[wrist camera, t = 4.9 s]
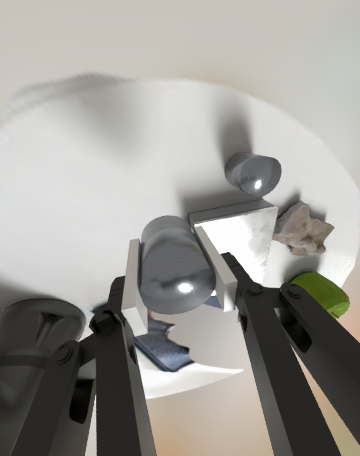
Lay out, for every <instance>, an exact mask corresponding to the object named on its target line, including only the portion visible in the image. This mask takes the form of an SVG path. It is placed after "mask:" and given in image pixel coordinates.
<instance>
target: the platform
mask: <svg viewBox="0 0 360 456" xmlns="http://www.w3.org/2000/svg"><path fill="white" fill-rule="evenodd" d="M278 210H279V208H278V207H276V206H273V207H268V208H263V209H258V210H253V211H248V212H243V213H238V214H233V215H228V216H223V217H218V218H213V219H208V220H203V221H198V222H194V227H195V226H199V225H202V226H203V228H204V229H205V231H206V232H207V234H208V235H209V237H210V239H211V240H212V242H213V243H214V245H215V246H216V248H217V250H218V251H219V253H223V252H227V251H229V252H230V253H232V254H233V255H234V256H235V257H236V258H237V260H238V261H239V262H240V264H241V265H242V266H243V268H244V269H245V270H246V272H247V273H248V274H249V276H250V277H251V278H252V280H253V281H254V282H257V283H262V280H263V276H264V271H265V267H266V263H267V258H268V254H269V249H270V245H271V240H272V236H273V232H274V227H275V223H276V218H277V214H278ZM214 294H215V291H214V292H213V294H212V295H214Z"/></svg>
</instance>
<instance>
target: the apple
mask: <svg viewBox="0 0 360 456" xmlns="http://www.w3.org/2000/svg"><path fill="white" fill-rule="evenodd" d="M291 283H295V284H297V285H299V286H301V287H302V288H304V289H305V290H306V291H307V292H308V293H309V294H310V295H311V296H312V297H313V298H314V299H315V300H316V301H317V302H318V303H319V304H320V305H321V306H322V307H323V308H324V309H325V310H326V311H327V312H328V313H329V314H330V315H331V316H332V317H334V318H335V319H336V318H339V317H340V316H341V315H343V314H344V313H345V312H346V311H347V310H348V308H349V305H350V303H349V297H348V296H347V294H346V293H345V292H344V291H343V290H342V289H341V288H339V287H338V286H337V285H336V284H334V283H333V282H332V281H330V280H329V279H327V278H325V277H324V276H322V275H320V274H319V273H317V272H309V273H303V274H300V275H298V276H297V277H295V278H294V279H293V280H292V282H291Z"/></svg>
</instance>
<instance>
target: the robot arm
mask: <svg viewBox="0 0 360 456" xmlns="http://www.w3.org/2000/svg"><path fill="white" fill-rule="evenodd" d="M194 234H195V236H196V238H197V240H198V242H199V244H200V246H201V248H202V250H203V252H204V254H205V256H206V258H207V260H208V262H209V264H210V266H211V268H212V270H213V272H214V274H215V276H216V287H215V290H214V291H215V294H216V296H217V298H218V300H219V302H220V305H221V307H222V309H223V311H224V312H226V311H230V310H234V309H235V304H236V306H237V308H238V310H239V313H238V322H240V323H241V327H242V330H243V335H244V338H245V342H246V346H247V350H248V354H249V358H250V362H251V366H252V370H253V373H254V378H255V382H256V386H257V390H258V393H259V397H260V402H261V405H262V409H263V413H264V417H265V421H266V425H267V429H268V433H269V437H270V441H271V445H272V449H273V452H274V456H341V454H340V451H339V449H338V447H337V445H336V443H335V441H334V438H333V436H332V434H331V432H330V430H329V428H328V426H327V423H326V421H325V419H324V417H323V415H322V412H321V410H320V408H319V406H318V403H317V401H316V399H315V397H314V395H313V393H312V391H311V388H310V386H309V384H308V382H307V380H306V378H305V375H304V373H303V371H302V369H301V366H300V364H299V362H298V360H297V358H296V356H295V353H294V351H293V349H294V350H295V352H296V353H297V354H298V356H299V357H300V359H301V360H302V362H303V363H304V365H305V366H306V368H307V369H308V371H309V372H310V374H311V375H312V377H313V378H314V379H315V381H316V382H317V384H318V385H319V387H320V388H321V390H322V391H323V392H324V394H325V395H326V397H327V398H328V400H329V401H330V403H331V404H332V406H333V407H334V409H335V410H336V411H337V413H338V414H339V416H340V417H341V419H342V420H343V421H344V423H345V425H346V426H347V427H348V429H349V430H350V432H351V433H352V435H353V436H354V438H355V439H356V441H357V442H358V443H359V445H360V343H359V342H358V341H357V340H356V339H355V338H354V337H353V336H352V335H351V334H350V333H349V332H348V331H347V330H346V329H345V328H344V327H343V326H342V325H341V324H340V323H339V322H338V321H337V320H336V319H335V318H334V317H332V316H331V315H330V314H329V313H328V312H327V311H326V310H325V309H324V308H323V307H322V306H321V305H320V304H319V303H318V302H317V301H316V300H315V299H314V298H313V297H312V296H311V295H310V294H309V293H308V292H307V291H306V290H305V289H304V288H302V287H301V286H299V285H297V284H295V283H284V284H282V285H281V287H280V288H268V287H263V286H262V285H260V284H259V283H257V282H254V281H253V280H252V278H251V277H250V276H249V274H248V273H247V272H246V270H245V269H244V268H243V266H242V265H241V264H240V262H239V261H238V260H237V258H236V257H235V256H234V255H233V254H232V253H230V252H229V251H227V252H223V253H219V251H218V250H217V248H216V246H215V245H214V243H213V242H212V240H211V239H210V237H209V235H208V234H207V232H206V231H205V229H204V228H203V226H202V225H199V226H195V227H194ZM140 266H141V244H140V240H139V238H138V239H133V240H130V245H129V253H128V261H127V268H126V276H122V277H117V278H115V280H114V281H113V283H112V284H111V289H110V293H109V298H108V303H107V307H106V308H104V309H102V310H100V311H99V312H97V313H96V314H95V315H94V316H93V318H92V319H91V321H90V324H89V328H90V329H91V330H92V331H93V332H94V333H93V334H91V335H90V336H88V337H86V338H85V339H83V340H81V341H80V342H78V340H79V339H80V338H81V336H82V334H83V331H84V328H85V325H86V318H85V315H84V314H83V313H82V311H81V310H79V309H78V308H77V307H75V306H73V305H71V304H68V303H66V302H62V301H58V300H51V299H32V300H26V301H22V302H18V303H16V304H14V305H12V306H10V307H8V308H7V309H6V310H5V311H4V312H3V313H2V315H1V316H0V456H85V451H86V446H87V440H88V434H89V429H90V423H91V417H92V412H93V406H94V401H95V395H96V426H97V427H96V430H97V431H96V432H97V456H157V455H156V450H155V445H154V440H153V435H152V430H151V425H150V420H149V415H148V410H147V405H146V400H145V395H144V390H143V385H142V380H141V375H140V370H139V365H138V360H137V355H136V350H135V345H134V343H133V333H134V335H135V336H139V335H142V334H146V333H148V331H147V307H145V306H144V304H143V301H142V299H141V296H140ZM290 344H291V345H290ZM291 346H292V347H293V349H292V347H291Z"/></svg>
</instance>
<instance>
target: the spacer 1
mask: <svg viewBox="0 0 360 456" xmlns="http://www.w3.org/2000/svg"><path fill="white" fill-rule="evenodd" d="M215 287H216V276H215V274H214V272H213V270H212V268H211V266H210V264H209V262H208V260H207V258H206V256H205V254H204V252H203V250H202V248H201V246H200V244H199V242H198V240H197V238H196V236H195V234H194V232H193V230H192V228H191V226H190V225H189V224H188V223H187V222H186V221H185V220H184V219H182V218H180V217H177V216H162V217H159V218H156V219H154V220H153V221H151V222H150V223H149V224H148V225H147V226H146V227H145V228H144V230H143V232H142V236H141V266H140V296H141V299H142V301H143V304H144V306H145V307H147V308H148V309H149V310H151V311H153V312H156V313H160V314H179V313H184V312H187V311H190V310H193V309H195V308H197V307H198V306H200V305H202V304H203V303H204V302H205V301H207V300H208V299H209V298H210V296H211V295H212V294H213V292H214V290H215Z"/></svg>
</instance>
